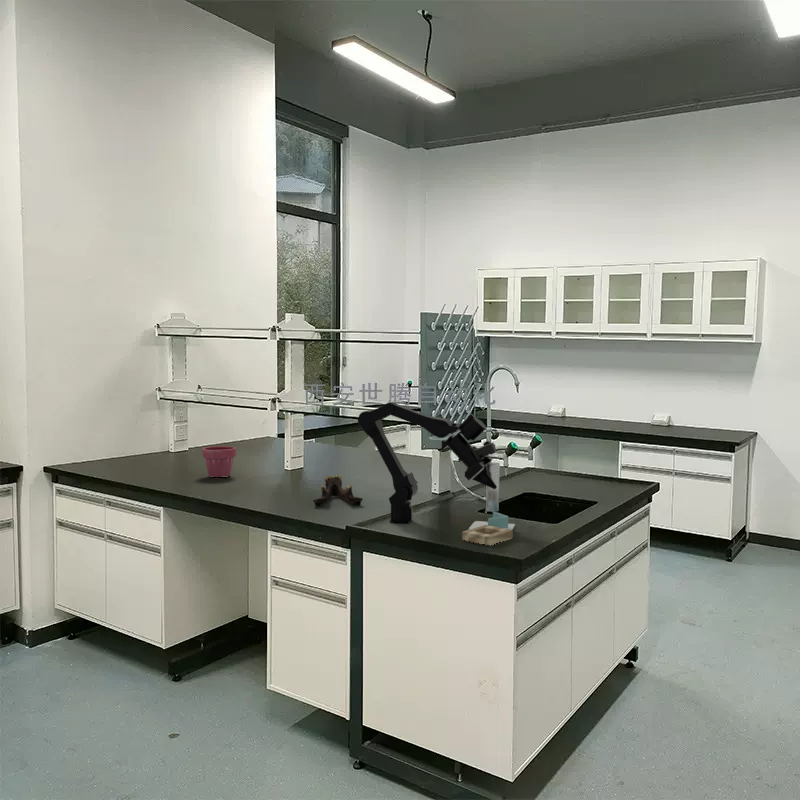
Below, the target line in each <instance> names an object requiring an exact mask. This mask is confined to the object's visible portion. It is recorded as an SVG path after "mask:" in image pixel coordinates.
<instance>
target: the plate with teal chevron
mask: <svg viewBox="0 0 800 800" xmlns="http://www.w3.org/2000/svg"><path fill="white" fill-rule="evenodd" d="M483 525H489V526H494V527H499V528H504V529H509V530H513V531H514V528H515V527H516V523H509V516H508V515H507V514H506V515H505V514H502V513H500V512H498V511H497V512H492V517H489V518H487V521H481V520H475V521H474V522H473V523H472V524H471V525H470V526H469V528H468V530H470V529H473V528H476V527H479V526H483Z"/></svg>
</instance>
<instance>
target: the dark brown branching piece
mask: <svg viewBox="0 0 800 800" xmlns="http://www.w3.org/2000/svg"><path fill="white" fill-rule="evenodd" d="M324 481H325V483H324V485H325V487H324V485H322V484H320V492H321V496H320V497H318V498H316V499H312V502H313V503H314V506H315V507H317V508H320V507H321V506H322V505H324V504H325V503H328V502H329V501H330V499H331V498H332V497H339V498H340V499H341V500H343V501H344V502H347V503H352V504H354V505H355V506H361V504H362V501H363V499H364V498H363V497H358V496H354V495H353V494H354V493H353V489H352V488H353V487H352V485H351V484H349V485H347V486H346V487H345V489H344V488H343V487H342V486H343V475H342V474H341V475H339V474H337V475H336V474H335V475H334V476H333V475H327V476H326V475H324Z"/></svg>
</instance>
